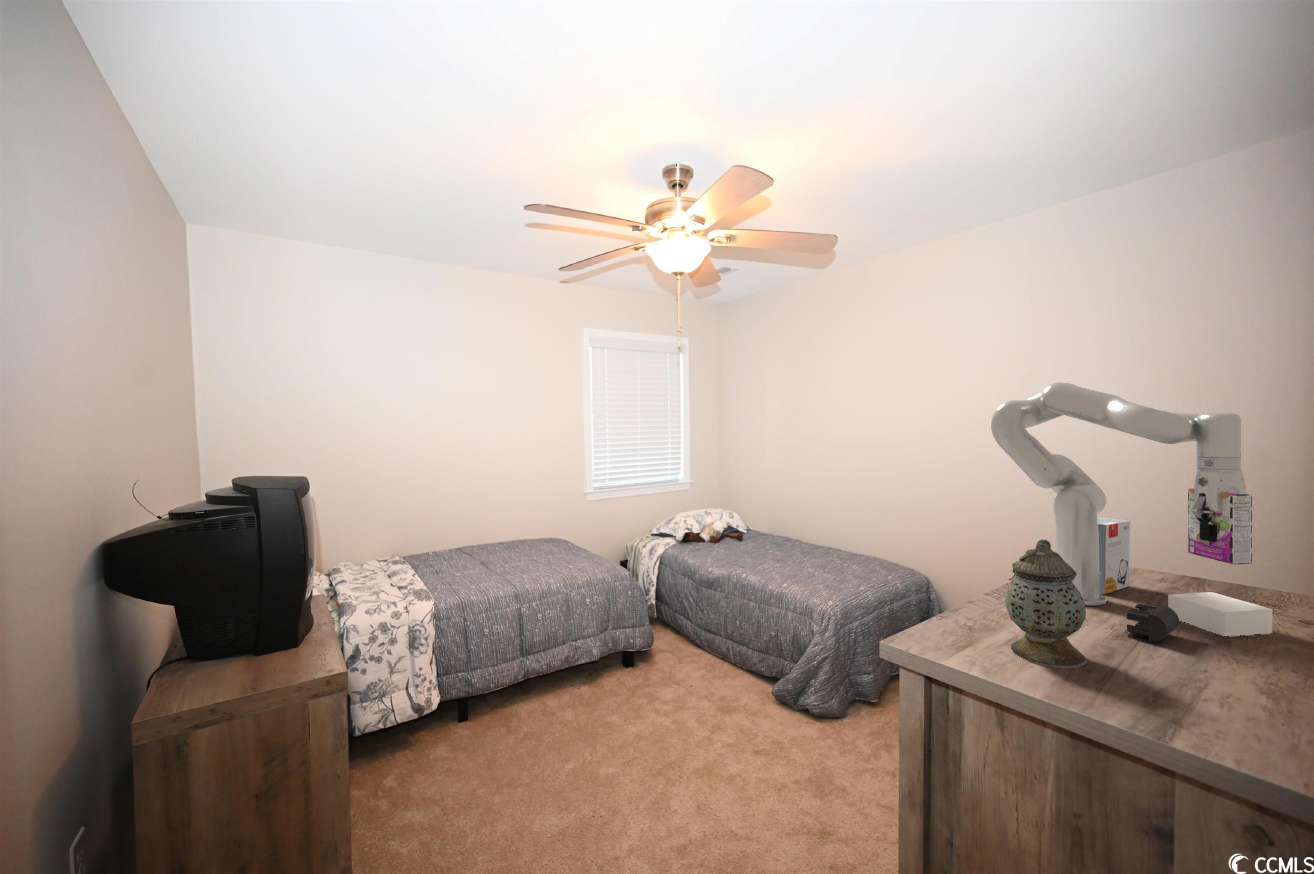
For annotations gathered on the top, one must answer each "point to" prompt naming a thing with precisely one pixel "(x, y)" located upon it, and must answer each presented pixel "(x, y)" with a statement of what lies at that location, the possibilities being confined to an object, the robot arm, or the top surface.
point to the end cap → (1151, 622)
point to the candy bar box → (1225, 530)
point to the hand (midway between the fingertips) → (1218, 538)
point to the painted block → (1221, 614)
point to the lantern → (1045, 608)
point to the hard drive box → (1113, 554)
